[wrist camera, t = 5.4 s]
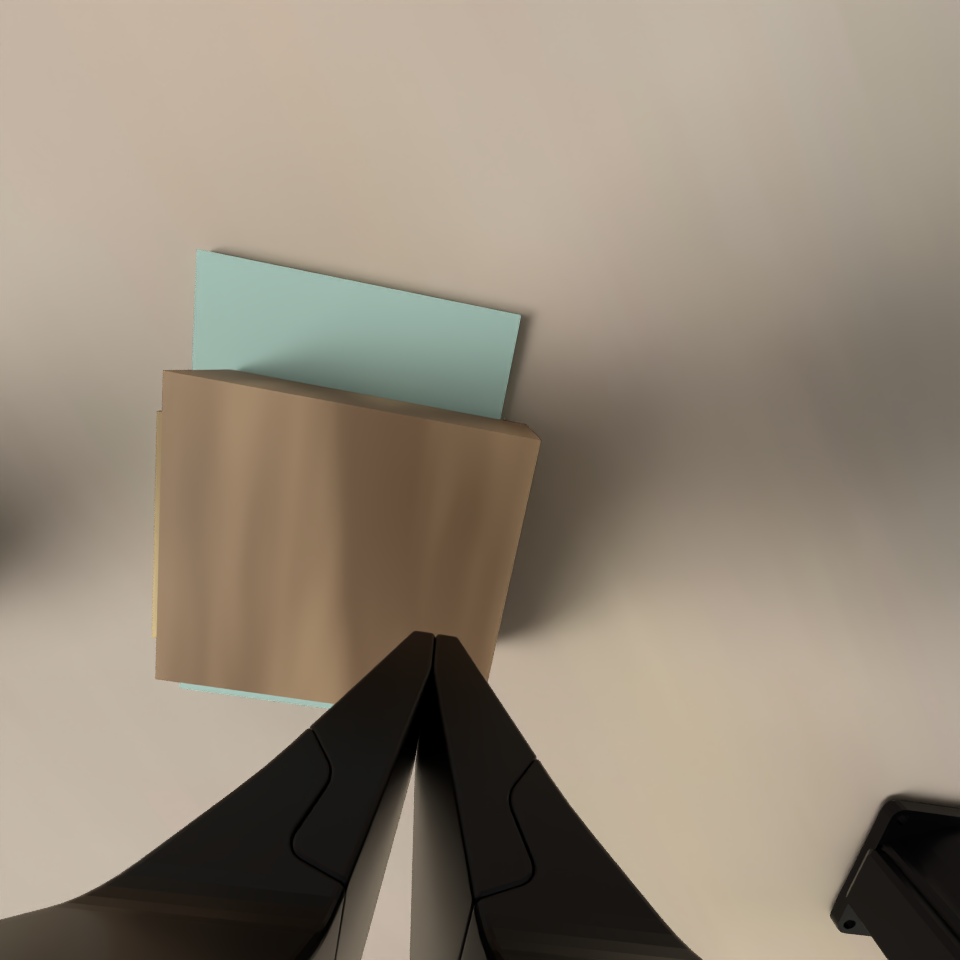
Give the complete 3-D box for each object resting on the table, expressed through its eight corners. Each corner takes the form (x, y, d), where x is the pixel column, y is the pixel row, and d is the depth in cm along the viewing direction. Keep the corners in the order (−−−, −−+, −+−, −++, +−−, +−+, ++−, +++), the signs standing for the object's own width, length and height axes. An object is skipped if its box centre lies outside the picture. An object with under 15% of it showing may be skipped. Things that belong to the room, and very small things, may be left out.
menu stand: (541, 440, 11) (149, 367, 10) (478, 723, 13) (143, 677, 12) (525, 423, 14) (222, 367, 13) (475, 653, 16) (209, 613, 15)
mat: (519, 316, 13) (521, 315, 13) (440, 715, 17) (439, 724, 16) (205, 252, 13) (196, 248, 12) (186, 680, 16) (179, 687, 16)
